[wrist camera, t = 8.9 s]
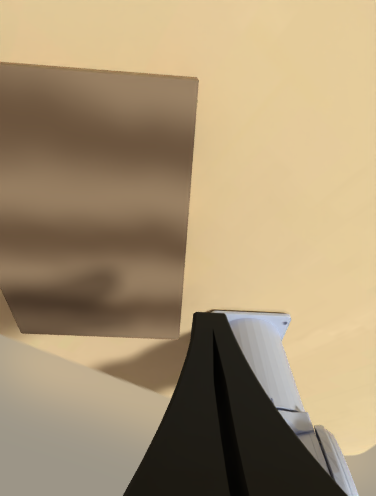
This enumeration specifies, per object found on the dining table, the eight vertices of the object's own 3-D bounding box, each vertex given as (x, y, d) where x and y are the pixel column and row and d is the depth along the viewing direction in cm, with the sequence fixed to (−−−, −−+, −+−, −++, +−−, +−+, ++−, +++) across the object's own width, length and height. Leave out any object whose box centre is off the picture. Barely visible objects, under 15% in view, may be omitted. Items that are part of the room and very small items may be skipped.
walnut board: (179, 314, 27) (178, 339, 24) (36, 307, 26) (21, 333, 24) (196, 77, 15) (198, 80, 13) (-57, 57, 15) (-106, 56, 12)
